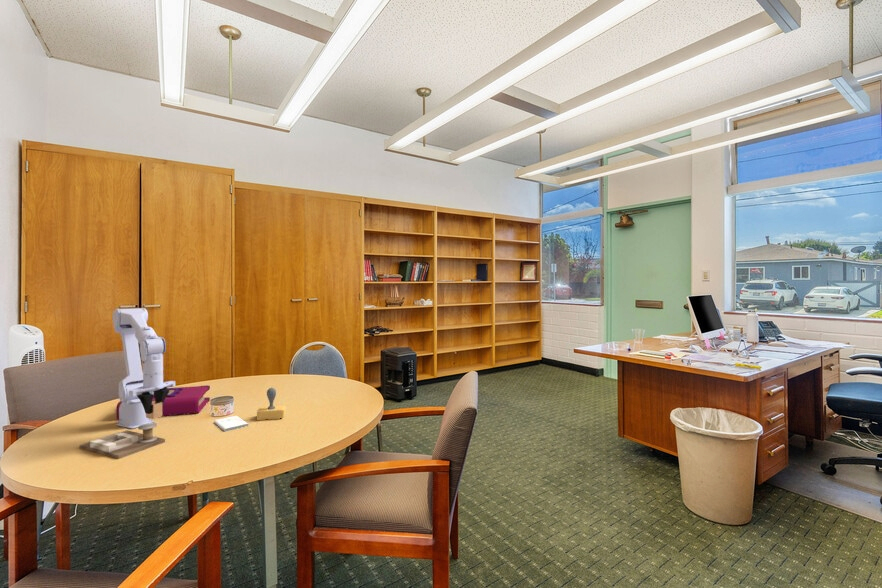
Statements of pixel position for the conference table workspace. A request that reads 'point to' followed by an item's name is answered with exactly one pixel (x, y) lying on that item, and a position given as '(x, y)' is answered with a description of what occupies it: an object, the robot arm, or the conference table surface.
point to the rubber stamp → (271, 408)
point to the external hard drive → (230, 423)
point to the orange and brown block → (155, 410)
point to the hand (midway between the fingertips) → (153, 411)
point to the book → (181, 401)
